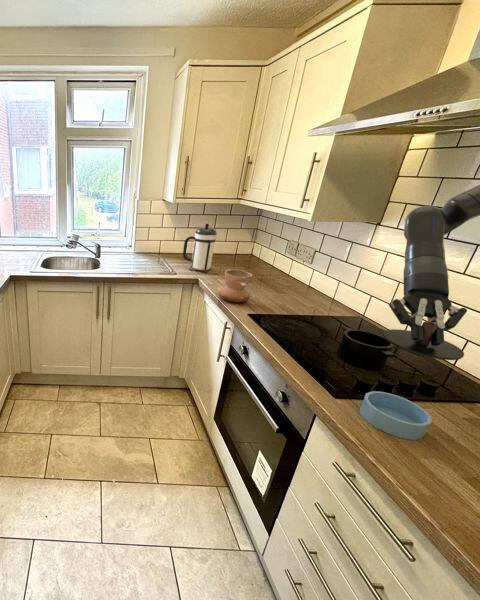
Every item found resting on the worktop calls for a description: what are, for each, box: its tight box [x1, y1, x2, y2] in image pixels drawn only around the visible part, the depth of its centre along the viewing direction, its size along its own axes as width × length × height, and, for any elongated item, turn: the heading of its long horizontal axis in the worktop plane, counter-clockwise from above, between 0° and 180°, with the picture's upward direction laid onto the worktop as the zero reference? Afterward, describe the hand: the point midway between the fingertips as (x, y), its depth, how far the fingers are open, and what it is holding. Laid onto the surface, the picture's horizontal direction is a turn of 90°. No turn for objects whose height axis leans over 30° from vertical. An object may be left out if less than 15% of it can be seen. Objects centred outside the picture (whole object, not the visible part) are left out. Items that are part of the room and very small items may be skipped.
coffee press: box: [182, 223, 219, 274], centre depth 201 cm, size 17×16×30 cm
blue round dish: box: [359, 390, 433, 441], centre depth 81 cm, size 12×12×4 cm
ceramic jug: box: [218, 268, 253, 304], centre depth 157 cm, size 18×14×14 cm
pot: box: [336, 327, 395, 371], centre depth 107 cm, size 12×18×8 cm
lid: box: [382, 321, 465, 361], centre depth 75 cm, size 14×14×6 cm
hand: (427, 343), depth 73 cm, fingers closed on lid, 2 cm apart
